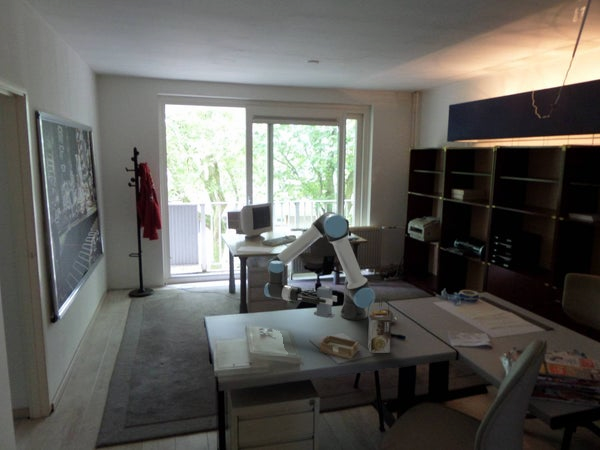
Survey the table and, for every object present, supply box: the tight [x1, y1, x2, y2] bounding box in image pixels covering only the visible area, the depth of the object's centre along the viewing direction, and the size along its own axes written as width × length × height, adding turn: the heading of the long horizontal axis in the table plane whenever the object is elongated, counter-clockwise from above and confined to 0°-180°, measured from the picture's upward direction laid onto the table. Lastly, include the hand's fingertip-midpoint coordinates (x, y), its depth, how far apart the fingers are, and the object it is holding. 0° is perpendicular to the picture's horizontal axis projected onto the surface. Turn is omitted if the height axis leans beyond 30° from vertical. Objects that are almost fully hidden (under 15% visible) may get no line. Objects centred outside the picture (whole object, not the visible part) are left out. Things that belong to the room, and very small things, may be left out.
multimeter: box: [366, 297, 394, 339], centre depth 210 cm, size 15×10×20 cm
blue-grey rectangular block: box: [313, 285, 335, 319], centre depth 209 cm, size 5×10×15 cm, turn 64°
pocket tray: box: [318, 335, 359, 359], centre depth 195 cm, size 10×16×4 cm
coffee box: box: [367, 314, 392, 354], centre depth 196 cm, size 9×6×16 cm
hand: (334, 300), depth 207 cm, fingers closed on blue-grey rectangular block, 5 cm apart
